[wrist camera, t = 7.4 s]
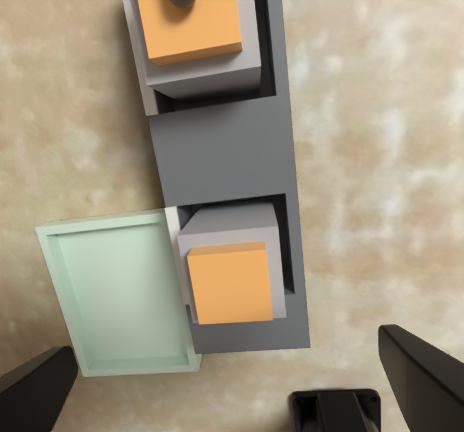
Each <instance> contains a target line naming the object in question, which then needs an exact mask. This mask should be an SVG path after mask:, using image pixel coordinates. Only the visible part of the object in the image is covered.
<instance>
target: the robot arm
mask: <svg viewBox="0 0 464 432" xmlns="http://www.w3.org/2000/svg"><path fill="white" fill-rule="evenodd" d="M378 346H379V357H380V360H381V363H382V365H383V368H384V370H385V373H386V375H387V378H388V380H389V382H390V385H391V387H392V390H393V392H394V395H395V397H396V400H397V402H398V405H399V407H400V410H401V412H402V415H403V417H404V419H405V421H406V424H407V426H408V428H409V430H410V432H464V363H463V362H461V361H459V360H457V359H456V358H454V357H452V356H450V355H449V354H447V353H445V352H443V351H442V350H440V349H438V348H436V347H435V346H433V345H431V344H429V343H428V342H426V341H424V340H422V339H421V338H419V337H417V336H415V335H414V334H412V333H410V332H408V331H407V330H405V329H403V328H401V327H400V326H398V325H395V324H390V325H381V326H380V327H379V329H378ZM77 374H78V365H77V362H76V359H75V356H74V353H73V350H72V348H71V347H70V346H69V345H61V346H55V347H53V348H51V349H49V350H47V351H46V352H44V353H42V354H40V355H38V356H37V357H35V358H33V359H31V360H30V361H28V362H26V363H24V364H22V365H21V366H19V367H17V368H15V369H13V370H12V371H10V372H8V373H6V374H5V375H3V376H1V377H0V432H51V431H52V429H53V427H54V425H55V423H56V421H57V418H58V416H59V414H60V412H61V410H62V408H63V405H64V403H65V401H66V399H67V397H68V395H69V392H70V390H71V388H72V386H73V384H74V381H75V379H76V377H77ZM371 397H372V398H371ZM292 399H293V409H294V418H295V428H296V432H381V399H380V396H379V394H378V392H377V391H375V390H348V391H322V392H298V393H295V394H294V395H293V397H292ZM299 399H300V400H299Z"/></svg>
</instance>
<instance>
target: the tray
mask: <svg viewBox="0 0 464 432" xmlns="http://www.w3.org/2000/svg"><path fill="white" fill-rule="evenodd" d="M35 229H36V232H37V235H38V238H39V242H40V245H41V248H42V251H43V254H44V257H45V260H46V263H47V266H48V269H49V273H50V276H51V279H52V282H53V285H54V288H55V291H56V294H57V297H58V300H59V304H60V307H61V310H62V313H63V316H64V319H65V322H66V325H67V328H68V331H69V334H70V338H71V341H72V344H73V347H74V350H75V353H76V356H77V359H78V362H79V365H80V369H81V372H82V375H83V377H93V376H113V375H133V374H154V373H174V372H195V371H199V368H200V364H201V360H202V354H195V351H194V346H193V341H192V336H191V331H190V326H189V321H188V316H187V311H186V306H185V305H184V302H183V297H182V292H181V287H180V282H179V277H178V272H177V267H176V263H175V258H174V253H173V248H172V243H171V238H170V233H169V228H168V223H167V218H166V213H165V208H160V209H151V210H143V211H134V212H126V213H118V214H109V215H101V216H92V217H84V218H76V219H67V220H59V221H51V222H48V223H45V224H43V225H40V226H38V227H35Z"/></svg>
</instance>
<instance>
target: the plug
mask: <svg viewBox="0 0 464 432" xmlns="http://www.w3.org/2000/svg"><path fill="white" fill-rule="evenodd" d="M177 239H178V244H179V250H180V255H181V261H182V266H183V272H184V277H185V283H186V288H187V293H188V299H189V304H190V310H191V315H192V321H193V323H199V325H200V324H217V323H234V322H251V321H268V320H273V318H286V308H285V297H284V286H283V274H282V263H281V252H280V241H279V230H278V223H277V219H276V215H275V211H274V207H273V203H272V199H271V198H266V199H257V200H248V201H238V202H229V203H219V204H210V205H202V206H201V207H200V209H199V210H198V211H197V212H196V213H195V215H194V216H193V217H192V218H191V219H190V221H189V222H188V223H187V224H186V225H185V227H184V228H183V229H182V230H181V231H180V233H179V234H178V235H177Z"/></svg>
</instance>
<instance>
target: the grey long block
mask: <svg viewBox="0 0 464 432" xmlns="http://www.w3.org/2000/svg"><path fill="white" fill-rule="evenodd" d="M254 2H255V11H256V21H257V31H258V41H259V50H260V60H261V76H260V92H258V93H252V94H246V95H240V96H233V97H227V98H221V99H215V100H209V101H203V102H196V103H190V104H183V103H181V102H179V101H177V100H175V99H173V98H171V97H169V96H167V95H165V94H163V93H161V92H159V91H157V90H155V89H153V88H151V87H149V86H147V84H146V79H145V73H144V68H143V63H142V58H141V53H140V48H139V43H138V38H137V33H136V27H135V22H134V17H133V12H132V7H131V2H130V0H123V5H124V10H125V15H126V20H127V24H128V29H129V34H130V39H131V44H132V49H133V54H134V59H135V64H136V69H137V74H138V79H139V84H140V89H141V94H142V99H143V104H144V109H145V114H146V116H148V121H149V126H150V131H151V136H152V141H153V146H154V151H155V156H156V161H157V166H158V171H159V176H160V181H161V186H162V191H163V196H164V201H165V206H166V208H165V213H166V218H167V223H168V228H169V233H170V238H171V243H172V248H173V253H174V258H175V263H176V267H177V272H178V277H179V282H180V287H181V292H182V297H183V302H184V305H185V306H186V311H187V316H188V321H189V326H190V331H191V336H192V341H193V346H194V351H195V354H208V353H226V352H244V351H262V350H279V349H297V348H310V337H309V325H308V313H307V301H306V289H305V276H304V264H303V252H302V240H301V227H300V215H299V203H298V191H297V179H296V166H295V154H294V142H293V130H292V117H291V105H290V93H289V81H288V69H287V56H286V44H285V32H284V20H283V7H282V0H254ZM266 198H271V199H272V203H273V207H274V211H275V215H276V219H277V223H278V230H279V241H280V252H281V263H282V274H283V286H284V297H285V308H286V318H273V320H268V321H251V322H234V323H217V324H200V325H199V323H193V321H192V315H191V310H190V304H189V299H188V293H187V288H186V283H185V277H184V272H183V266H182V261H181V255H180V250H179V244H178V239H177V235H178V234H179V233H180V231H181V230H182V229H183V228H184V227H185V225H186V224H187V223H188V222H189V221H190V219H191V218H192V217H193V216H194V215H195V213H196V212H197V211H198V210H199V209H200V207H201V206H202V205H210V204H219V203H229V202H238V201H248V200H257V199H266Z"/></svg>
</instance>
